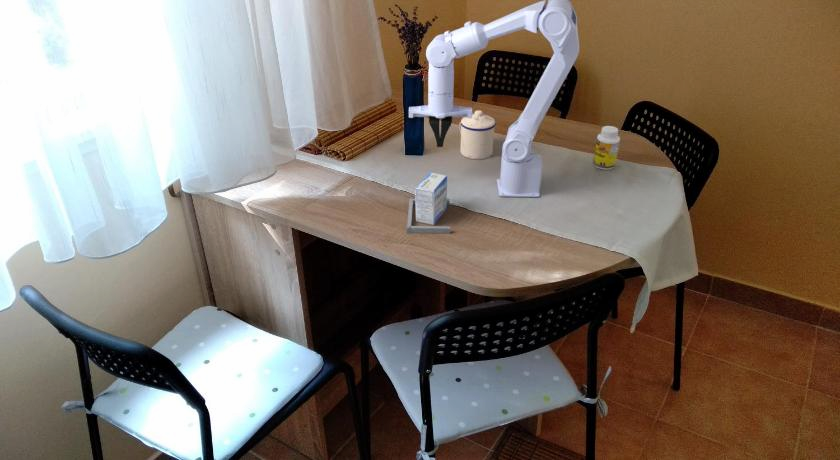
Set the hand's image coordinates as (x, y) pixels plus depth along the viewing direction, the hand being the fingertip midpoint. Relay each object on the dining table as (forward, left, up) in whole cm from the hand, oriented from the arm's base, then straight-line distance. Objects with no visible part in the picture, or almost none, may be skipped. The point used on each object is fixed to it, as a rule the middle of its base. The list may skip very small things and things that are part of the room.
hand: (439, 145), depth 151 cm
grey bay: (+2, +18, -9) cm, 20 cm away
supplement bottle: (-42, -9, -10) cm, 44 cm away
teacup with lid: (-9, -17, -10) cm, 21 cm away
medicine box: (+2, +16, -10) cm, 19 cm away
